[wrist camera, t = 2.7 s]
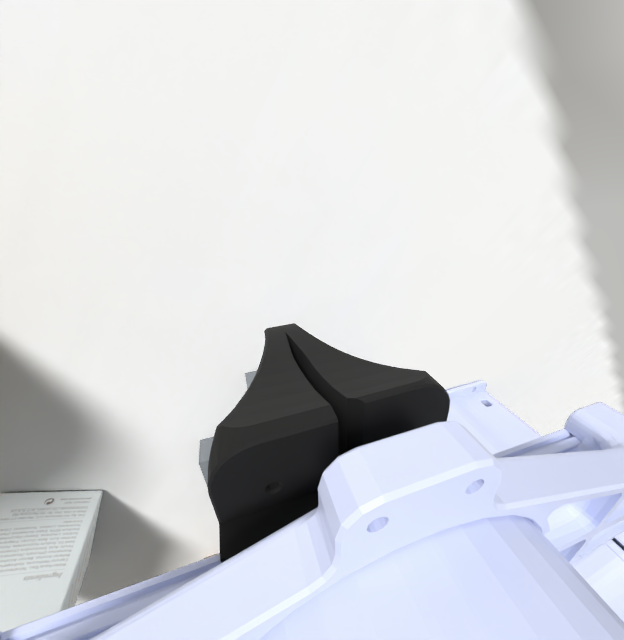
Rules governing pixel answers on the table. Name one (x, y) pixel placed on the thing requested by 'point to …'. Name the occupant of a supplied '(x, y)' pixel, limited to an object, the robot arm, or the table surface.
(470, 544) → the robot arm
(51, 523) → the small box
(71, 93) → the table surface
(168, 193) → the table surface
